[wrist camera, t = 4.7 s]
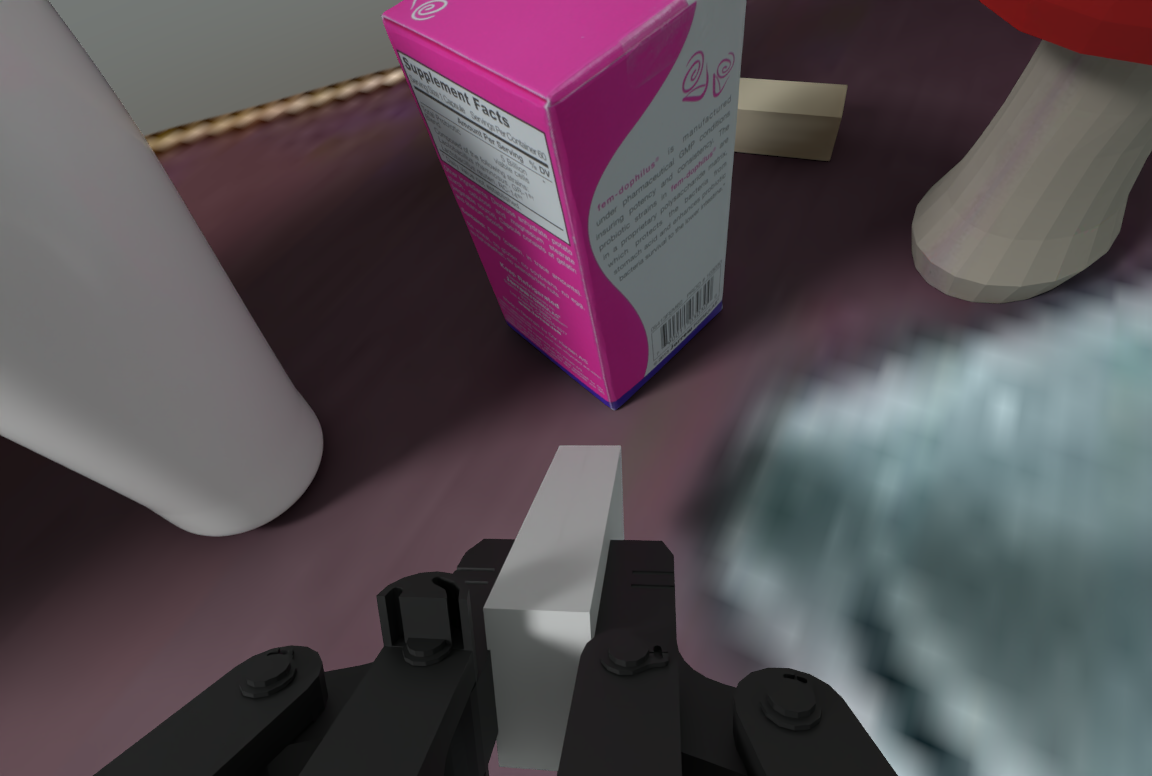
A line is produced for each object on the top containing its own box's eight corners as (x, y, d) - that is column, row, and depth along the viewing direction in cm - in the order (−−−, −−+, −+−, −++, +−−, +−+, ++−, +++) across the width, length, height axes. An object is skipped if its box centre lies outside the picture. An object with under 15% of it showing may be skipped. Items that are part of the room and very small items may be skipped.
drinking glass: (138, 597, 18) (-874, 148, 6) (155, 419, 22) (-437, -78, 10) (362, 523, 19) (-112, 0, 7) (341, 364, 23) (13, -154, 11)
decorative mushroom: (1006, 127, 24) (1385, -566, 11) (1220, 262, 20) (2218, -610, 7) (800, 232, 23) (967, -420, 10) (981, 401, 19) (1677, -363, 6)
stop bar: (495, 127, 29) (484, 88, 27) (510, 100, 29) (501, 61, 28) (829, 161, 25) (841, 117, 23) (835, 129, 25) (847, 85, 24)
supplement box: (607, 234, 24) (565, -113, 14) (725, 310, 22) (773, -51, 12) (499, 324, 23) (369, 2, 13) (612, 418, 20) (558, 104, 10)
